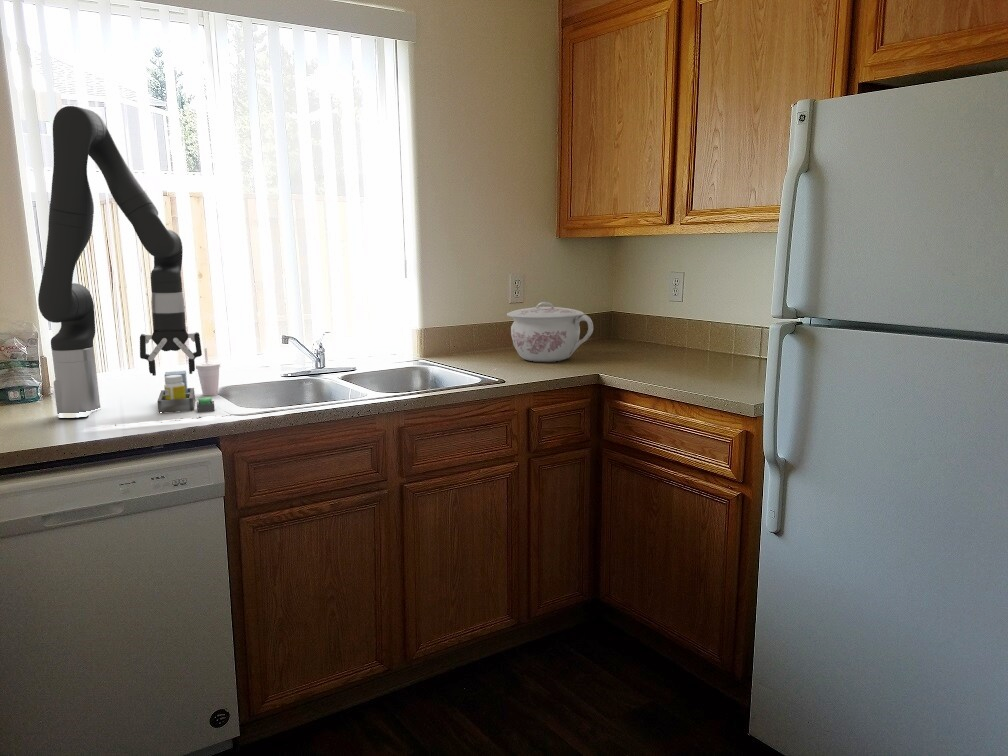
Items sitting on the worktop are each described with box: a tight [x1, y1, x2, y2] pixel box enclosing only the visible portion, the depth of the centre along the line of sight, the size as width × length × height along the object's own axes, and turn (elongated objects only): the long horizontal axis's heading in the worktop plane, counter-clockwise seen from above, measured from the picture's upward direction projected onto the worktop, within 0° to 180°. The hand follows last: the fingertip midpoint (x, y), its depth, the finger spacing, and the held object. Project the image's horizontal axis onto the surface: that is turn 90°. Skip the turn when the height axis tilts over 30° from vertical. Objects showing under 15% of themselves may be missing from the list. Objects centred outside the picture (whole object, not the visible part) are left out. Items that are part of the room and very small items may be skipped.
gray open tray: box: [157, 387, 196, 414], centre depth 197 cm, size 8×17×4 cm, turn 21°
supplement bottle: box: [163, 375, 186, 400], centre depth 193 cm, size 5×5×8 cm
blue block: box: [164, 370, 189, 393], centre depth 200 cm, size 5×5×8 cm
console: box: [196, 400, 216, 413], centre depth 191 cm, size 4×4×3 cm
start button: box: [197, 396, 213, 405], centre depth 191 cm, size 3×3×4 cm
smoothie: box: [195, 347, 221, 396], centre depth 211 cm, size 6×6×14 cm
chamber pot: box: [506, 301, 594, 363], centre depth 269 cm, size 28×28×21 cm
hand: (172, 374), depth 192 cm, fingers open, 8 cm apart
